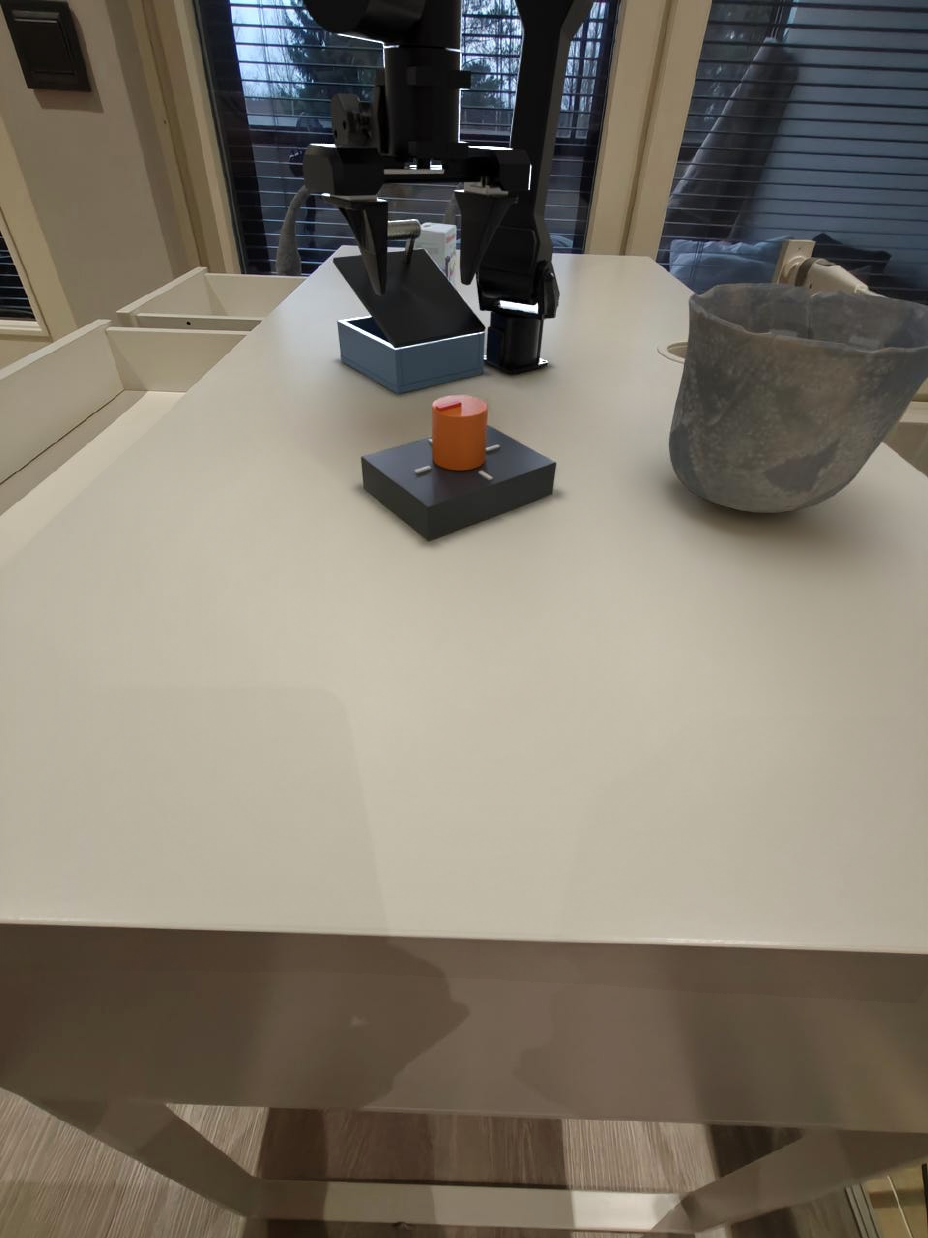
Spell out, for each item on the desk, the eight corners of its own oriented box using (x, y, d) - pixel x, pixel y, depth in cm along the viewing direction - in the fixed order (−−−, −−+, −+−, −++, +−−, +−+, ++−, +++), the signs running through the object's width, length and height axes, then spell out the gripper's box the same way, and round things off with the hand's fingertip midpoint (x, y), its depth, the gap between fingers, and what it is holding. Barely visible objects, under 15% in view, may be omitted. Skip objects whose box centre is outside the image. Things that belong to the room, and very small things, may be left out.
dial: (464, 442, 51) (465, 387, 48) (495, 461, 49) (499, 404, 46) (422, 455, 49) (420, 398, 46) (453, 476, 47) (453, 416, 44)
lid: (332, 262, 68) (337, 214, 64) (423, 252, 74) (433, 208, 70) (394, 348, 65) (404, 304, 60) (484, 331, 71) (499, 290, 66)
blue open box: (341, 361, 76) (336, 320, 73) (422, 345, 82) (421, 307, 79) (397, 393, 68) (395, 349, 65) (483, 373, 74) (485, 332, 71)
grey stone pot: (761, 441, 61) (823, 275, 51) (911, 530, 48) (1032, 333, 38) (610, 464, 56) (647, 286, 46) (735, 570, 43) (823, 357, 33)
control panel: (481, 451, 57) (482, 419, 55) (552, 494, 51) (557, 460, 49) (363, 488, 51) (360, 454, 49) (428, 541, 45) (427, 505, 43)
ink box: (444, 322, 91) (445, 231, 83) (413, 320, 91) (411, 229, 83) (456, 308, 97) (457, 223, 89) (427, 306, 98) (426, 221, 90)
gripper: (461, 63, 53) (456, 265, 63) (258, 44, 44) (290, 281, 54) (545, 59, 46) (525, 285, 56) (324, 35, 37) (347, 308, 47)
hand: (424, 289), depth 53 cm, fingers open, 9 cm apart
